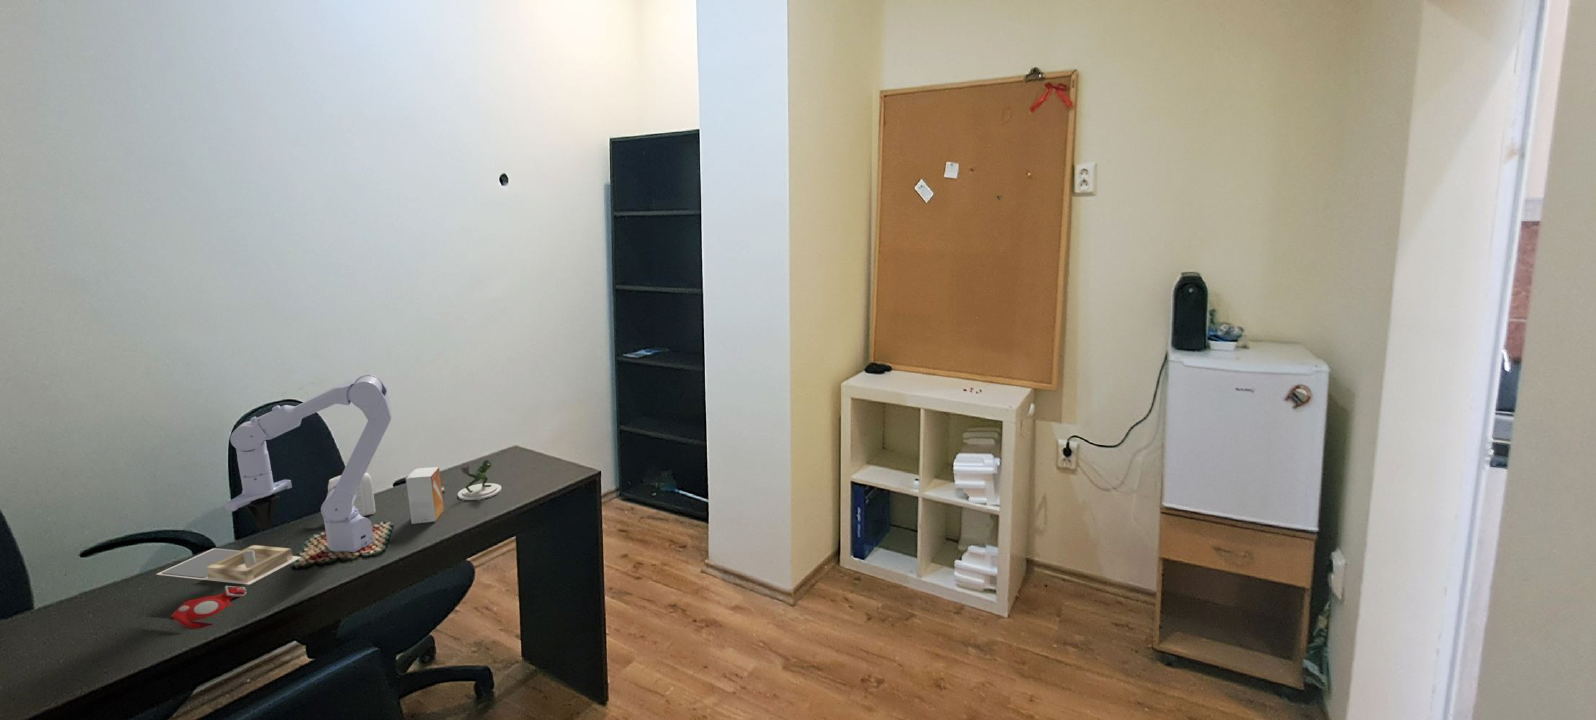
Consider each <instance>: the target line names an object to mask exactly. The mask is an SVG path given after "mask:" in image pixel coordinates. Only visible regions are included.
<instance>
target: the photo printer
mask: <svg viewBox="0 0 1596 720" xmlns="http://www.w3.org/2000/svg"><path fill="white" fill-rule="evenodd" d="M341 475H342V474H341ZM341 475H338V476H335V477H333V478H330V479H329V480H328V484H327V493H328V492H329V491H330V489H332V488H333V487H334V486H336V484H337V483H338V481H339V479H340V477H341ZM373 487H374V485H373V480H372V478H371V476H370V474H369V473H368V472H365V474H364V476H363V478H362V480H361V482H360V484H359V487H358V489H357V491H356V493H357V498H356V501H355V503H354V505H353V506H355V507H356V508H357V509H358V511H359V514H360V515H361V516H362V517H365V516H369V515H374V514H375V513H376V502H375V496H374V488H373Z"/></svg>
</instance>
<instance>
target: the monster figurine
mask: <svg viewBox="0 0 1596 720" xmlns="http://www.w3.org/2000/svg"><path fill="white" fill-rule="evenodd" d="M491 462H492V461H490V460H488V459H485V460H484V461H483V462H482V464H481V463H480V465H476V467H478V468H477V469H476V471H475V473H469V472H470V471H469V470H470V466H469V465H467V466H466V467H465V466H464V467H462V466H460V470H461V472H462V473H463V474H465V475H467V476H469V477H470V478H472V479H473V478H474V479H473V480H471V481H470V482H469V483H468V484H467V485H466V486H465V487H464V488H463V489H460V491H458V493H457V498H458V497H459V498H460V499H464V500H473V499H484V498H486V497H491V496H493V495H495V494H497V493H498V492H499V491H501V489H503V487H502V486H501V484H498V483H490V482H488V483H487V481H488V477H487V476H486V474H487V471H488V470H489V469H490V468H492V463H491ZM478 481H481V482H482V483H477V484H475V483H476V482H478ZM501 492H502V491H501ZM459 498H458V499H459ZM491 498H492V497H491ZM460 499H459V500H460ZM464 500H463V501H464ZM484 500H485V499H484Z"/></svg>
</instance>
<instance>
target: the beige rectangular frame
mask: <svg viewBox="0 0 1596 720" xmlns="http://www.w3.org/2000/svg"><path fill="white" fill-rule="evenodd" d="M247 550H254V552H255V558H260V559H264V560H262V561H260V562H258V563H256V564H254V565H252V566H250V567H248V568H245V567H236V566H238V565H240V564H243V563H245V560H244V555H243V552H245V551H247ZM238 551H239V552H237V553H235V554H233V555H231V556H229V557H227V558H224V559H222V560H220V561H218V562H216V563H214V564H212V565H209V566H207V567H206V569H207V574H208V577H210V578H219V579H228V580H237V581H247V582H248V581H250V580H252V579H254V578H256V577H258V576H260V575H262V574H264V573H266V572H268V571H270V570H271V569H273V568H275V567H277V566H279V565H281V564H283V563H285V562H287V561H289V560H291V559H293V556H294V555H293V551H292V548H290V547H289V548H287V547H279V546H267V545H266V546H265V545H259V544H257V545H256V544H252V545H250V546H248V547H246V548H243V549H242V550H238Z"/></svg>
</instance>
